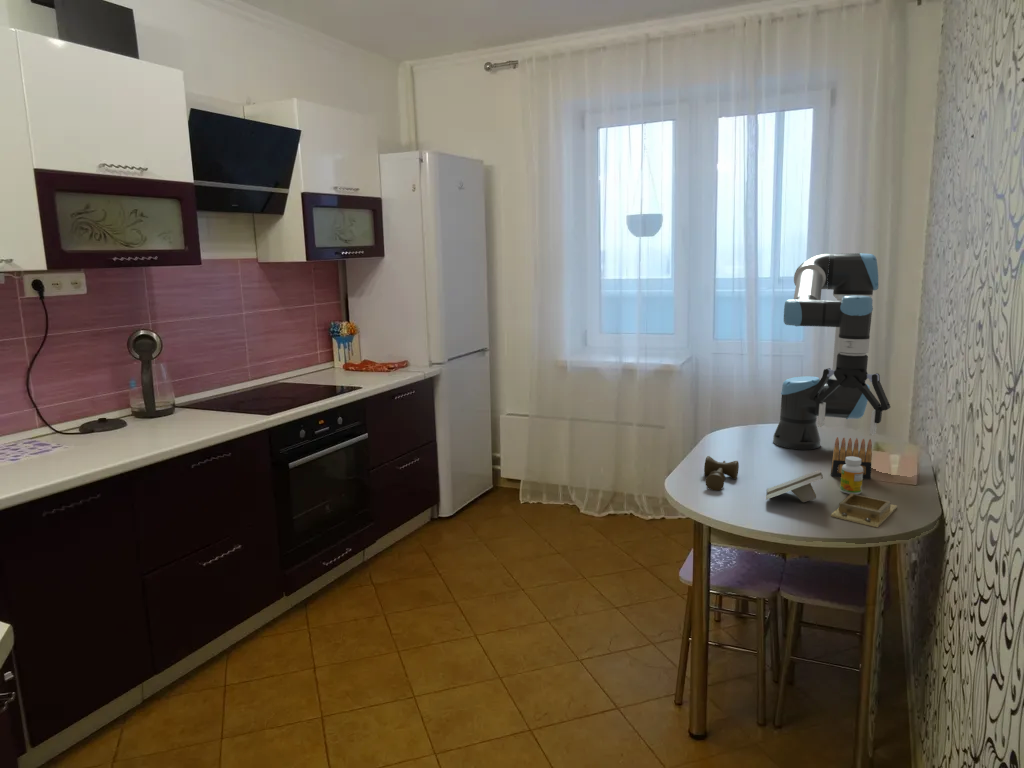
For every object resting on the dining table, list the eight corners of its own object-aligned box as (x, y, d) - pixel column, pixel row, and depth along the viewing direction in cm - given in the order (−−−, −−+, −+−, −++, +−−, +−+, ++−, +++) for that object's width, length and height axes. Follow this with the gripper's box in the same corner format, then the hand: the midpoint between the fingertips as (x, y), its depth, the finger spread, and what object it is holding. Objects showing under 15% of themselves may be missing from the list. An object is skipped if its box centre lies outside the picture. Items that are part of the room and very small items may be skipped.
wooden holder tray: (852, 498, 189) (853, 489, 189) (896, 507, 182) (897, 498, 181) (830, 516, 177) (831, 506, 177) (877, 527, 170) (878, 517, 169)
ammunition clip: (831, 476, 207) (834, 437, 204) (830, 474, 209) (833, 436, 206) (870, 479, 204) (874, 440, 202) (869, 477, 206) (873, 438, 203)
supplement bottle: (835, 489, 196) (838, 456, 194) (852, 487, 197) (854, 454, 195) (848, 495, 191) (851, 462, 189) (865, 493, 192) (868, 460, 190)
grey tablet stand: (786, 527, 181) (836, 494, 176) (764, 499, 183) (813, 466, 178) (787, 514, 196) (833, 484, 191) (767, 488, 198) (812, 458, 193)
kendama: (696, 490, 199) (707, 468, 216) (731, 496, 195) (740, 472, 212) (697, 470, 197) (709, 449, 215) (732, 476, 193) (741, 454, 211)
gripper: (800, 350, 193) (795, 424, 197) (899, 360, 175) (891, 440, 180) (811, 347, 198) (805, 420, 202) (908, 356, 181) (900, 435, 185)
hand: (846, 430), depth 191 cm, fingers open, 13 cm apart
